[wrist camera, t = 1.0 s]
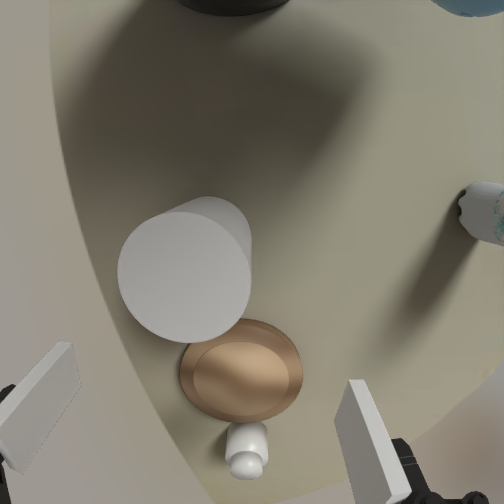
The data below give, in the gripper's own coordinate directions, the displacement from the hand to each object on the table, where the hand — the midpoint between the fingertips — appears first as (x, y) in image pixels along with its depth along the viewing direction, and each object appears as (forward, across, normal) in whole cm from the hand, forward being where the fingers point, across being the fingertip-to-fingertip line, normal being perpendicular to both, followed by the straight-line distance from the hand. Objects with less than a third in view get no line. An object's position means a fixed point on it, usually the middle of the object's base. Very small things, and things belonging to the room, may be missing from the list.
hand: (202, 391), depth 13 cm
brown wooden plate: (+18, +2, -12) cm, 21 cm away
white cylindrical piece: (+18, -2, +3) cm, 18 cm away
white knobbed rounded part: (+17, +4, -22) cm, 28 cm away
